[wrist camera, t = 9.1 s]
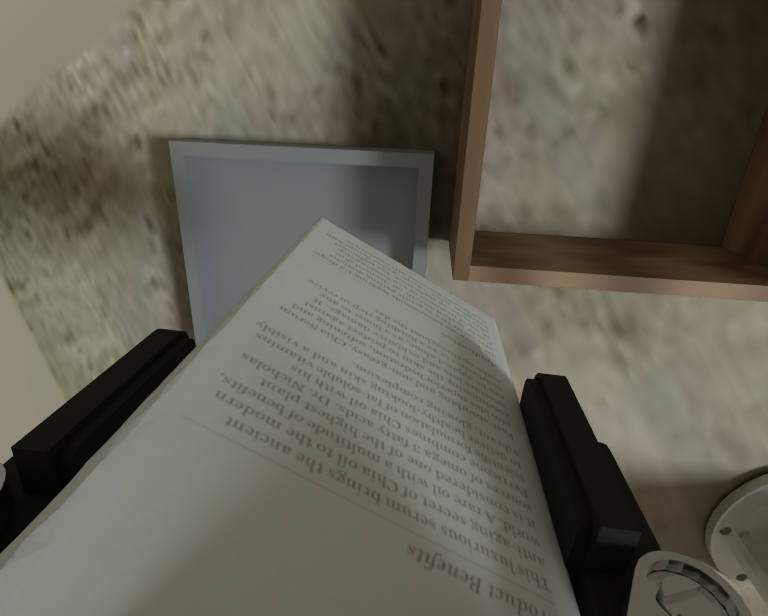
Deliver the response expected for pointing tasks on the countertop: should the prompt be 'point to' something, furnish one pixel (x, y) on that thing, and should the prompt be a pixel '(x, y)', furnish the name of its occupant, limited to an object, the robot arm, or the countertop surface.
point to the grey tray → (289, 209)
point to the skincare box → (311, 466)
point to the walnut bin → (593, 255)
